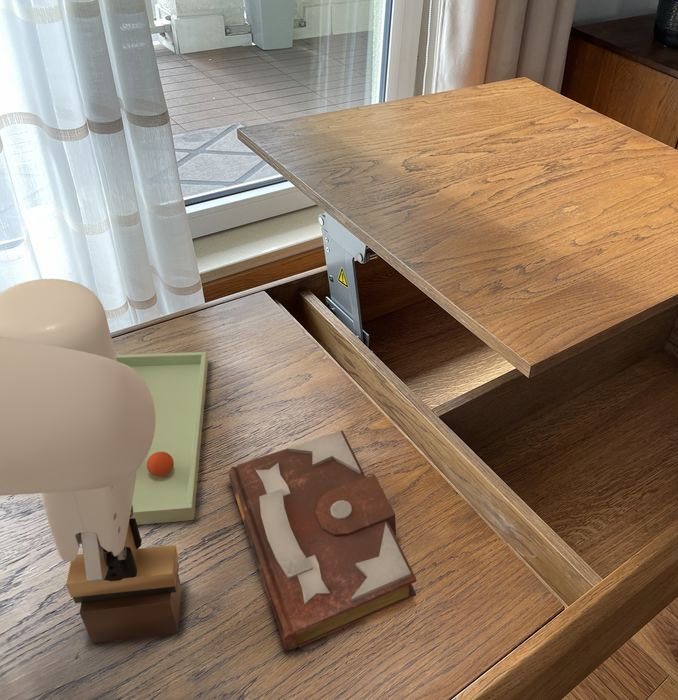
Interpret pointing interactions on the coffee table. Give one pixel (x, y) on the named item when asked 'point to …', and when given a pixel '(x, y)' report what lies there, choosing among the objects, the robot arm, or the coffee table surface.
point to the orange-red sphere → (160, 464)
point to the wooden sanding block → (151, 579)
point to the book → (321, 538)
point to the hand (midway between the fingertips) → (121, 560)
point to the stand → (132, 616)
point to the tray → (171, 434)
